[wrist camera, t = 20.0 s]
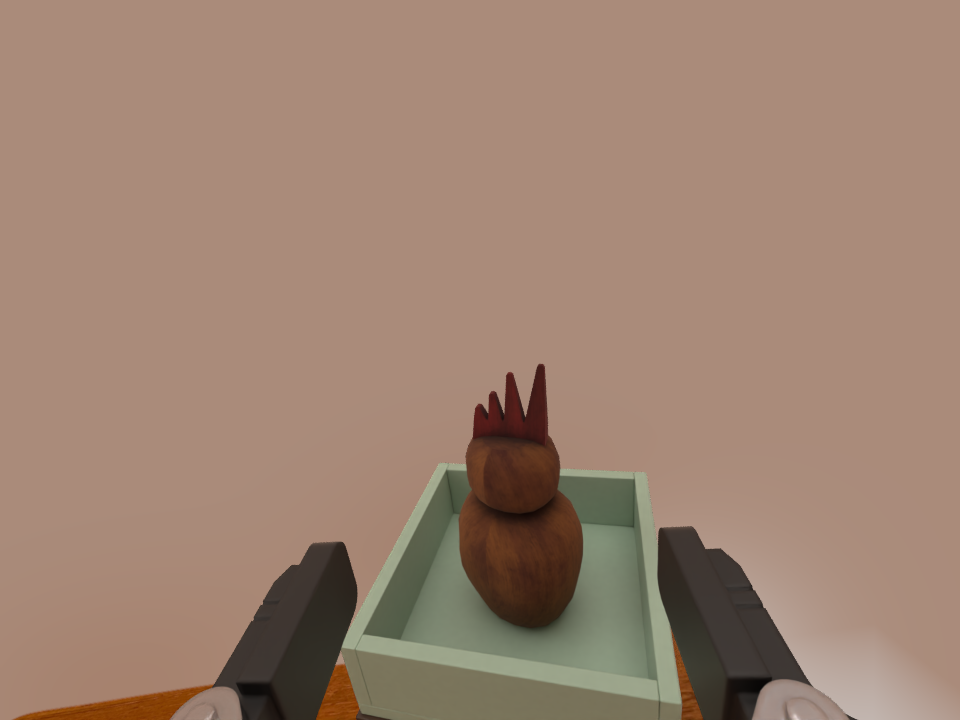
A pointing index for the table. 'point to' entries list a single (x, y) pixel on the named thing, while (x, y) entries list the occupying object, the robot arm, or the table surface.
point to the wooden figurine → (518, 512)
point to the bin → (514, 649)
